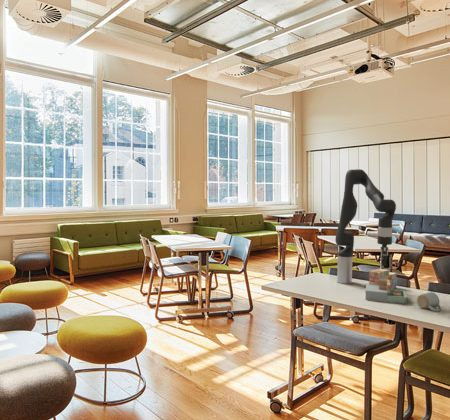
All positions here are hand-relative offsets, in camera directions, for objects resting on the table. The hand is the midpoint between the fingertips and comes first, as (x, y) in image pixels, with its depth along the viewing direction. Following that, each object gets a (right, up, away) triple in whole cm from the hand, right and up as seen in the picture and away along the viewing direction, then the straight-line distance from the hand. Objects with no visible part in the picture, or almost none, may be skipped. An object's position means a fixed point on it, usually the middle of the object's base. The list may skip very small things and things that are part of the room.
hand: (383, 264), depth 223 cm
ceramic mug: (+16, -20, -19) cm, 32 cm away
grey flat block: (-4, -19, +2) cm, 19 cm away
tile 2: (+8, -17, +2) cm, 18 cm away
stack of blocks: (+8, -18, +22) cm, 29 cm away
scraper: (0, -14, +1) cm, 14 cm away
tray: (+6, -19, -2) cm, 20 cm away
